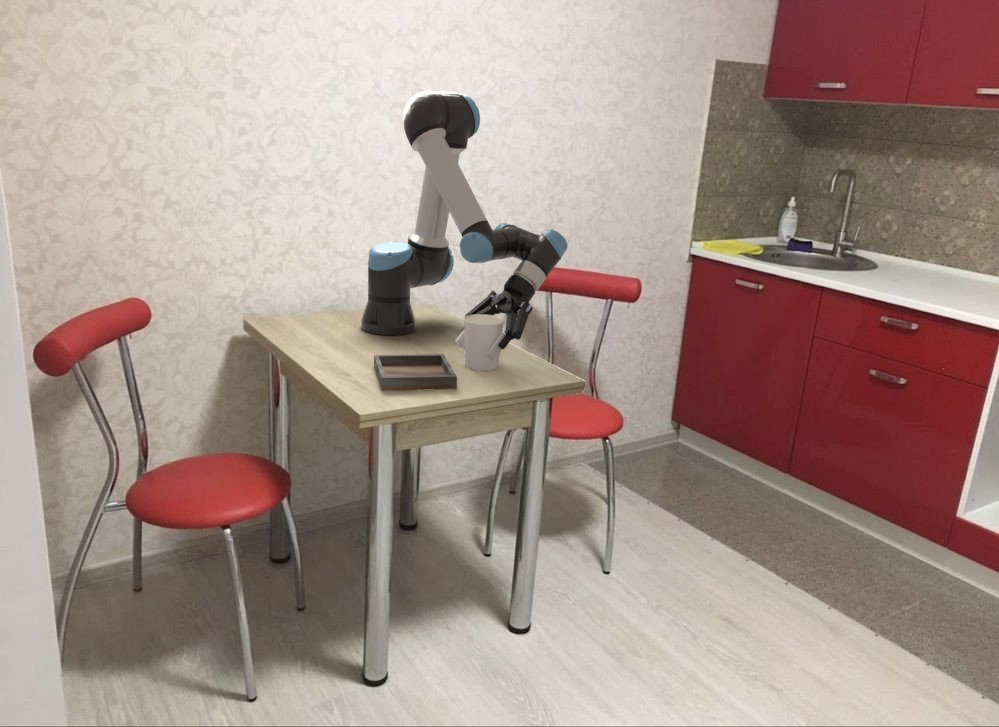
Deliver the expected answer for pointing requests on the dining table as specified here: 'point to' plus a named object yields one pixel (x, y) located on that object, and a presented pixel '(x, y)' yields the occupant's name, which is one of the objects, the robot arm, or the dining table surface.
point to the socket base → (414, 372)
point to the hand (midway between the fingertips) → (473, 351)
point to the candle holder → (481, 340)
